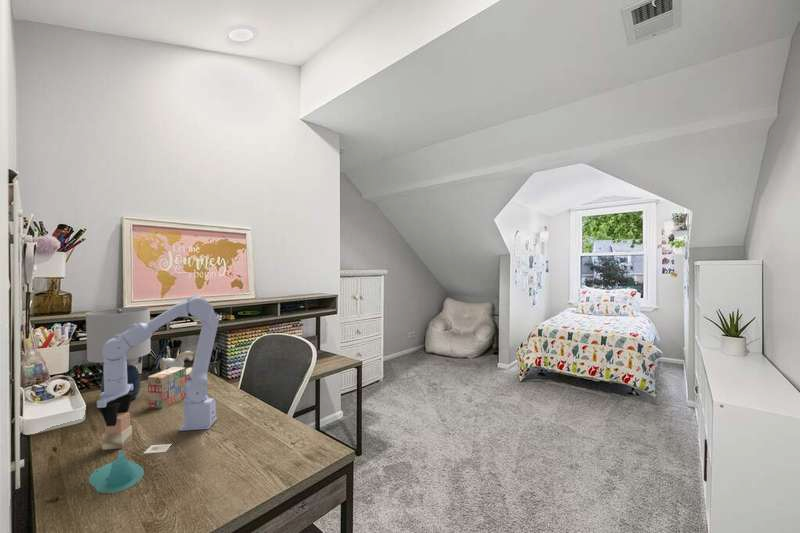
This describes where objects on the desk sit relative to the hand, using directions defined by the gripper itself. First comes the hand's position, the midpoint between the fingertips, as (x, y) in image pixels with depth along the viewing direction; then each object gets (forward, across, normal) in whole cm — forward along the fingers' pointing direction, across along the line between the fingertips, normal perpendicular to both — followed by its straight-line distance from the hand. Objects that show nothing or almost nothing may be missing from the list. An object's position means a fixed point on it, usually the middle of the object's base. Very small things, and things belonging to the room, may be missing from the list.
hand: (117, 421), depth 114 cm
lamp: (+7, -38, -20) cm, 44 cm away
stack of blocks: (+8, -38, +1) cm, 38 cm away
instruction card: (+7, +5, +14) cm, 16 cm away
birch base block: (+7, 0, 0) cm, 7 cm away
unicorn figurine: (+7, -65, -9) cm, 66 cm away
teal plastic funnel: (+8, +18, +10) cm, 22 cm away
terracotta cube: (+3, 0, 0) cm, 3 cm away
